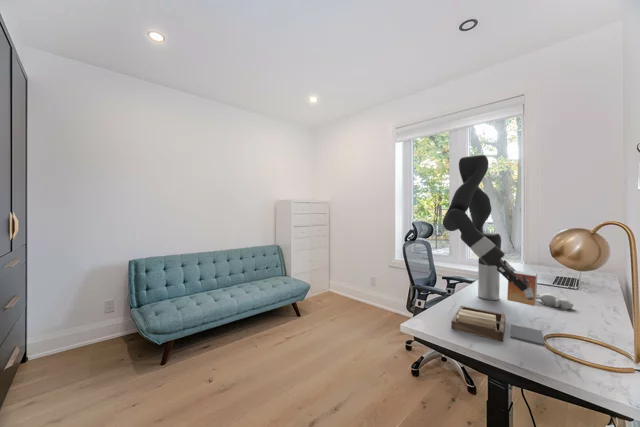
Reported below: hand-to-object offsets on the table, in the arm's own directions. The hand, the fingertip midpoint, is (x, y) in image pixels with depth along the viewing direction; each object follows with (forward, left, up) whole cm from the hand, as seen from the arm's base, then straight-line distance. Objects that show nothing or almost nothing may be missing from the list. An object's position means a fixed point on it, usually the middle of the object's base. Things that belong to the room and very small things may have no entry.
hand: (524, 287), depth 95 cm
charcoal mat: (0, +1, -17) cm, 17 cm away
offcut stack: (+6, -14, -17) cm, 23 cm away
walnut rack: (+1, -14, -17) cm, 22 cm away
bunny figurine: (-45, +11, -17) cm, 50 cm away
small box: (0, -1, -6) cm, 6 cm away
